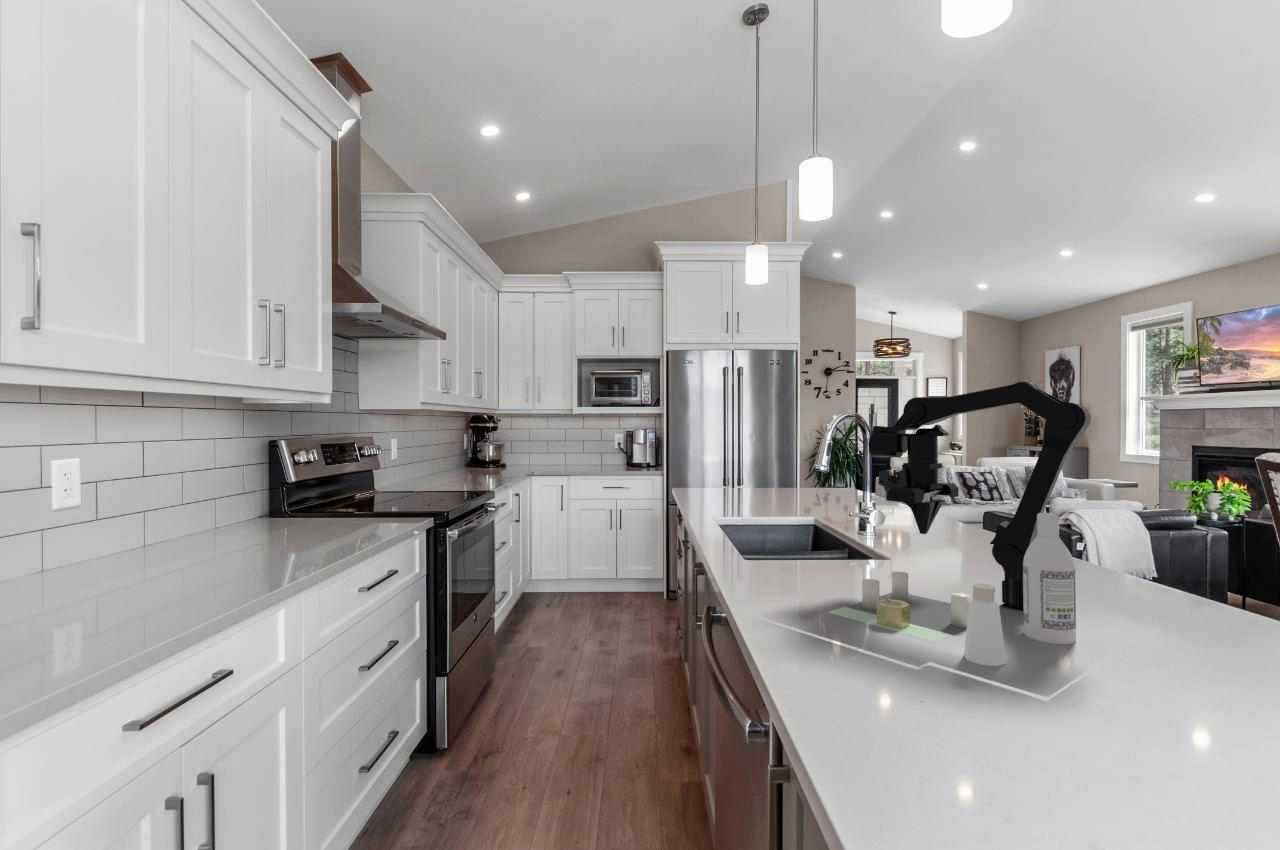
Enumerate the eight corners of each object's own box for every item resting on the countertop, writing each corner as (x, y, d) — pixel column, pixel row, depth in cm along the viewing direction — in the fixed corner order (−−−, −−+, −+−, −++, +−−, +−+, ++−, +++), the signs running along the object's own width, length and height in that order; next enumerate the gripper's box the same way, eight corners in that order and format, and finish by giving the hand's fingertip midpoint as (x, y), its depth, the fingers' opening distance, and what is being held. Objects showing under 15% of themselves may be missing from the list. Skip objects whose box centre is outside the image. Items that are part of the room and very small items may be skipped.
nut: (914, 623, 105) (914, 603, 105) (897, 630, 102) (897, 609, 102) (889, 617, 108) (889, 597, 108) (872, 623, 105) (872, 603, 105)
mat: (1000, 616, 110) (1000, 614, 110) (935, 644, 96) (935, 641, 96) (895, 593, 126) (895, 591, 126) (827, 614, 112) (827, 611, 112)
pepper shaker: (1015, 667, 86) (1014, 589, 87) (981, 670, 86) (980, 591, 86) (987, 653, 92) (987, 580, 92) (955, 656, 91) (954, 581, 91)
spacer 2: (911, 599, 120) (911, 573, 120) (903, 601, 118) (902, 575, 118) (897, 595, 122) (896, 570, 122) (888, 598, 121) (888, 572, 121)
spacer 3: (974, 625, 104) (973, 595, 104) (965, 628, 102) (965, 598, 102) (956, 620, 106) (955, 592, 106) (947, 624, 104) (947, 594, 104)
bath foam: (1086, 643, 96) (1085, 515, 96) (1055, 649, 94) (1053, 518, 94) (1044, 630, 102) (1042, 510, 103) (1013, 635, 100) (1012, 512, 100)
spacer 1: (882, 608, 114) (882, 581, 114) (873, 611, 112) (873, 583, 112) (868, 604, 116) (868, 578, 116) (859, 607, 115) (858, 580, 115)
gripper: (909, 455, 139) (910, 524, 139) (861, 458, 128) (862, 533, 128) (959, 457, 130) (960, 530, 130) (913, 460, 119) (914, 541, 119)
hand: (923, 533), depth 127 cm, fingers closed
